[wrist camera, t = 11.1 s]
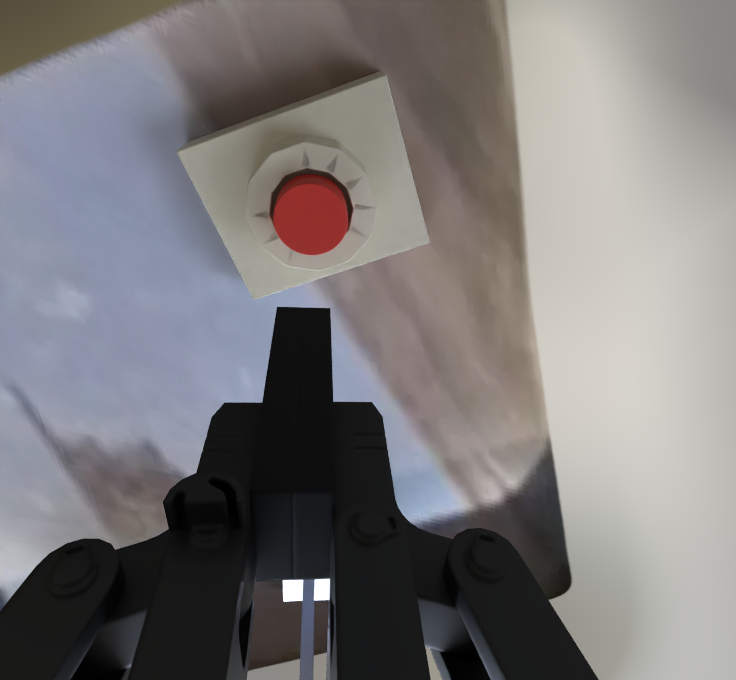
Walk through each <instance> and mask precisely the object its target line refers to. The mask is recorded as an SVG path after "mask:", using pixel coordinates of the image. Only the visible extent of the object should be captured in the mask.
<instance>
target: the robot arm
mask: <svg viewBox="0 0 736 680" xmlns="http://www.w3.org/2000/svg"><path fill="white" fill-rule="evenodd" d="M163 504H164V509H165V513H166V518H167V522H168V526H169V529H168V530H167V531H165V532H163V533H162V534H160V535H158V536H156V537H154V538H151V539H149V540H146V541H143V542H140V543H137V544H133V545H130V546H127V547H123V548H120V549H117V550H115V549H114V547H113V546H112V544H110V543H108V542H105V541H103V540H101V539H81V540H77V541H74V542H70V543H67V544H65V545H63V546H61V547H60V548H58V549H56V550H54V551H53V552H51V553H49V554H48V555H47V556H46V557H45V558H44V559H43V560H42V561H41V562H40V563H39V564H38V565H37V566H36V567H35V568H34V570H33V571H32V572H31V573H30V575H29V576H28V577H27V578H26V580H25V581H24V582H23V583H22V585H21V586H20V587H19V588H18V590H17V591H16V592H15V594H14V595H13V596H12V597H11V599H10V600H9V601H8V602H7V604H6V605H5V606H4V607H3V609H2V610H1V611H0V680H247V672H248V663H249V654H250V645H251V635H252V626H253V617H254V603H253V591H254V583H255V575H256V581H281V580H312V579H330V603H329V619H328V628H329V637H330V680H430V673H429V667H428V661H427V655H426V649H425V647H428V648H430V650H431V652H432V655H433V657H434V660H435V662H436V665H437V667H438V670H439V672H440V675H441V677H442V680H598V678H597V677H596V675H595V673H594V672H593V670H592V669H591V667H590V665H589V664H588V662H587V661H586V659H585V657H584V656H583V654H582V653H581V651H580V650H579V648H578V646H577V645H576V643H575V642H574V640H573V638H572V637H571V635H570V634H569V632H568V631H567V629H566V628H565V626H564V624H563V623H562V621H561V619H560V618H559V616H558V615H557V613H556V612H555V610H554V609H553V607H552V605H551V604H550V602H549V600H548V599H547V597H546V596H545V594H544V593H543V591H542V589H541V588H540V586H539V585H538V583H537V581H536V580H535V578H534V577H533V575H532V573H531V572H530V570H529V569H528V567H527V566H526V564H525V562H524V561H523V559H522V558H521V556H520V554H519V553H518V551H517V550H516V549H515V548H514V547H513V546H512V545H511V543H510V542H509V541H508V540H507V539H505V538H504V537H502V536H500V535H499V534H497V533H496V532H493V531H489V530H486V529H482V528H475V529H466V530H464V531H462V532H460V533H458V534H457V535H456V536H455V537H454V539H450V538H446V537H443V536H439V535H436V534H432V533H429V532H426V531H424V530H421V529H419V528H417V527H416V526H414V525H413V524H411V523H410V522H409V521H408V520H407V519H406V518H405V517H404V516H403V515H402V513H401V512H400V510H399V508H398V506H397V503H396V500H395V494H394V488H393V482H392V475H391V469H390V462H389V456H388V450H387V443H386V437H385V430H384V424H383V417H382V415H381V414H380V413H379V411H378V410H377V409H376V407H375V406H374V404H373V403H372V402H333V382H332V350H331V319H330V308H298V307H277V311H276V318H275V324H274V331H273V337H272V344H271V350H270V357H269V363H268V370H267V376H266V383H265V389H264V396H263V402H262V403H224V404H223V405H222V406H221V407H220V409H219V410H218V411H217V412H216V413H215V414H214V415H213V416H212V418H211V422H210V426H209V429H208V433H207V437H206V440H205V444H204V447H203V452H202V454H201V458H200V462H199V465H198V469H197V473H195V474H193V475H191V476H189V477H187V478H184V479H182V480H181V481H180V482H178V483H177V484H176V485H175V486H174V487H172V488H171V489H170V490H169V492H168V494H167V496H166V497H165V499H164V501H163Z"/></svg>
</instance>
